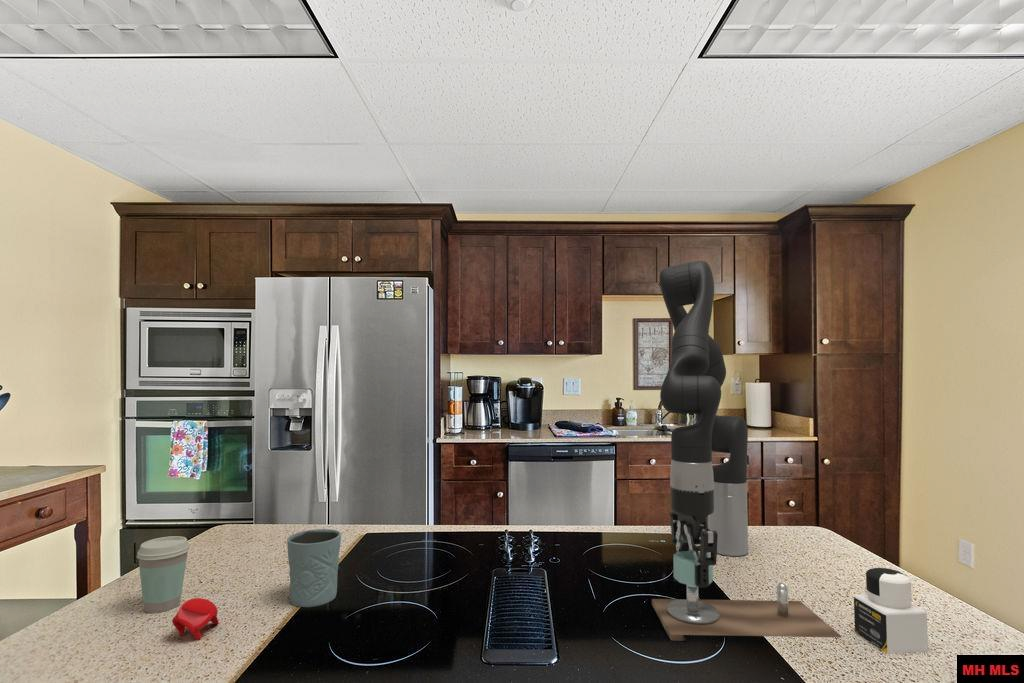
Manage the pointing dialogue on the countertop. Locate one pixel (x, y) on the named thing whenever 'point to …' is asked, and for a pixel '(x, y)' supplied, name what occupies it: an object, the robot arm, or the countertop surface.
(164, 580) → the coffee cup
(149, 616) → the countertop surface
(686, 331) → the robot arm
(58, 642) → the countertop surface
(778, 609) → the stand rod
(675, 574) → the sage ring
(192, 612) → the red toy chair
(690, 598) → the steel hub
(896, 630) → the medicine bottle
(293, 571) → the embossed green cup
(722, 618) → the walnut board
